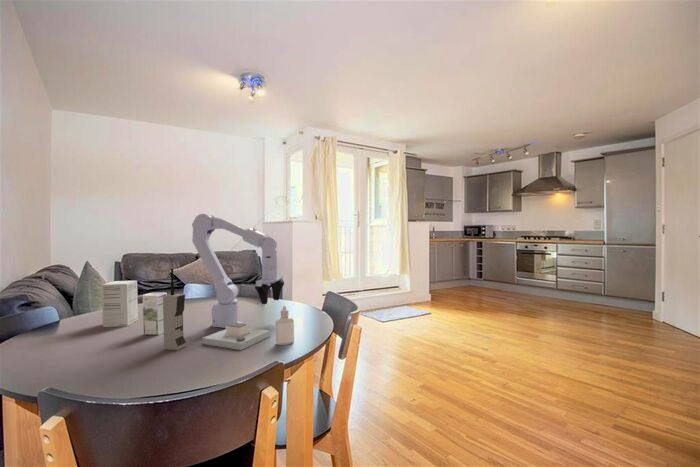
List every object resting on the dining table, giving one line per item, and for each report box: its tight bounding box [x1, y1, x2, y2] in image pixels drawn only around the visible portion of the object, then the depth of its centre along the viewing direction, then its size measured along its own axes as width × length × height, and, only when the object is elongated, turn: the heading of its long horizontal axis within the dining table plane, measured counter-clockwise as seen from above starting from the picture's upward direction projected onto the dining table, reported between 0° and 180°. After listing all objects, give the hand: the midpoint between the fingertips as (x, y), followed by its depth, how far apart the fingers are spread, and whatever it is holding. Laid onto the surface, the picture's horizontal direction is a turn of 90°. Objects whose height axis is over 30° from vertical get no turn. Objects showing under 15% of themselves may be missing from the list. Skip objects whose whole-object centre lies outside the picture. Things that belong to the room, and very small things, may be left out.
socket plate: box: [201, 327, 271, 351], centre depth 111 cm, size 16×14×3 cm
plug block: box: [225, 323, 249, 337], centre depth 111 cm, size 6×4×5 cm, turn 66°
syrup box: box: [142, 292, 168, 336], centre depth 121 cm, size 6×6×14 cm
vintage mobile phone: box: [163, 268, 187, 351], centre depth 104 cm, size 4×5×25 cm
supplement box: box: [101, 280, 139, 328], centre depth 135 cm, size 10×9×17 cm
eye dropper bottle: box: [275, 305, 295, 346], centre depth 107 cm, size 4×6×12 cm
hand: (270, 301), depth 131 cm, fingers open, 7 cm apart
